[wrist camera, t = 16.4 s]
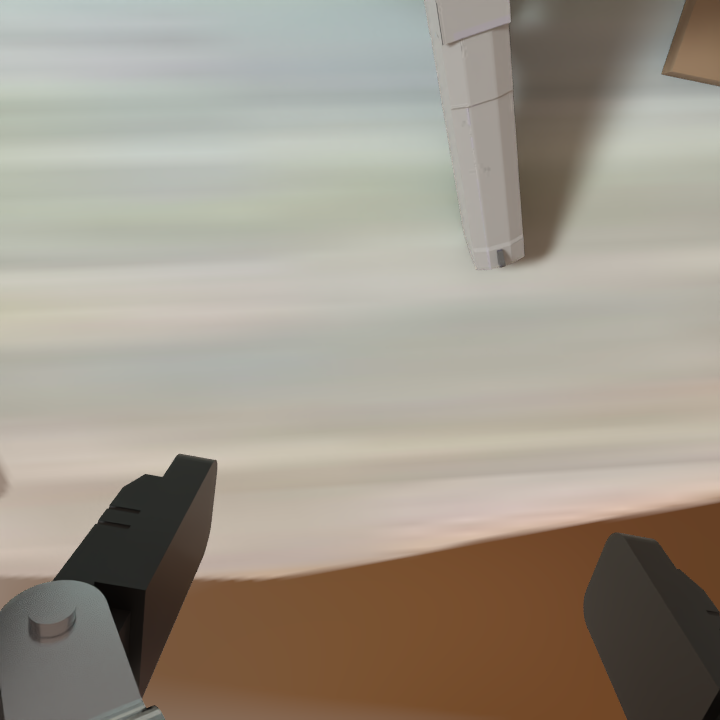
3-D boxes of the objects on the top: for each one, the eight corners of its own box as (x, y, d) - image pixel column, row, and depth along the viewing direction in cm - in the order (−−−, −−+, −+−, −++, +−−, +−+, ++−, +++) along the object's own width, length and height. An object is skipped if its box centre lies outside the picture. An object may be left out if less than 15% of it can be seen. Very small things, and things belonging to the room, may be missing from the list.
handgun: (416, -345, 28) (499, -368, 18) (479, 151, 49) (533, 265, 39) (338, -311, 28) (379, -316, 19) (433, 165, 49) (475, 281, 39)
